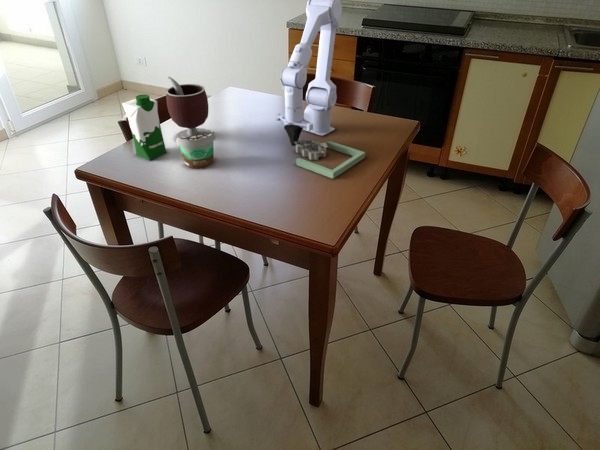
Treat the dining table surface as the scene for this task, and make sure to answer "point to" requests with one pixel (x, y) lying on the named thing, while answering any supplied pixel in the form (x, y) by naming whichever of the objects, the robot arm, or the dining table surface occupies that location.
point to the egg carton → (311, 148)
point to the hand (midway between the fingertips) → (294, 144)
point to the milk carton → (145, 127)
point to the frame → (339, 169)
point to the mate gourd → (187, 107)
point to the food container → (197, 150)
